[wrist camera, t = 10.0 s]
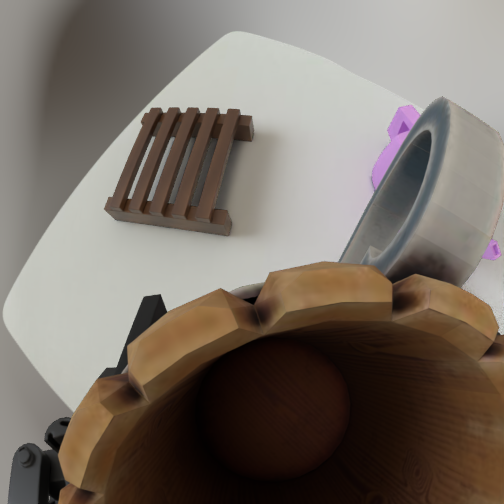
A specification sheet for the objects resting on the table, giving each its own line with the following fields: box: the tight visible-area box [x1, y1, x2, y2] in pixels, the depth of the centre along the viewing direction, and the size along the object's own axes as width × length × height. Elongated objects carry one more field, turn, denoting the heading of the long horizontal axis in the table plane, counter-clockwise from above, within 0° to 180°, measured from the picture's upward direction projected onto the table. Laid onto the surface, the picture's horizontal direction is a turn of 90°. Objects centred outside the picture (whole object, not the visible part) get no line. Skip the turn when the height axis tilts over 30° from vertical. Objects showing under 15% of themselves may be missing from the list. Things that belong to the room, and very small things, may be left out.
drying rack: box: [104, 108, 254, 236], centre depth 34 cm, size 14×14×4 cm
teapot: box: [372, 105, 501, 260], centre depth 27 cm, size 18×10×10 cm, turn 21°
